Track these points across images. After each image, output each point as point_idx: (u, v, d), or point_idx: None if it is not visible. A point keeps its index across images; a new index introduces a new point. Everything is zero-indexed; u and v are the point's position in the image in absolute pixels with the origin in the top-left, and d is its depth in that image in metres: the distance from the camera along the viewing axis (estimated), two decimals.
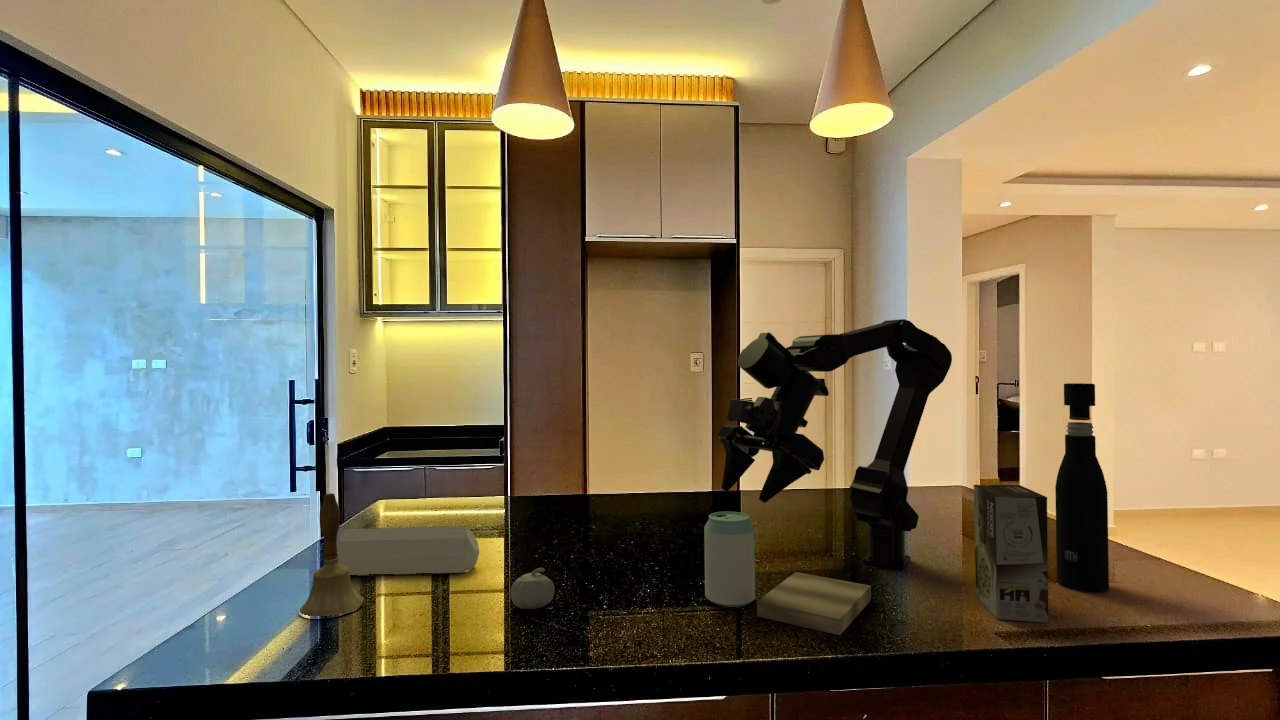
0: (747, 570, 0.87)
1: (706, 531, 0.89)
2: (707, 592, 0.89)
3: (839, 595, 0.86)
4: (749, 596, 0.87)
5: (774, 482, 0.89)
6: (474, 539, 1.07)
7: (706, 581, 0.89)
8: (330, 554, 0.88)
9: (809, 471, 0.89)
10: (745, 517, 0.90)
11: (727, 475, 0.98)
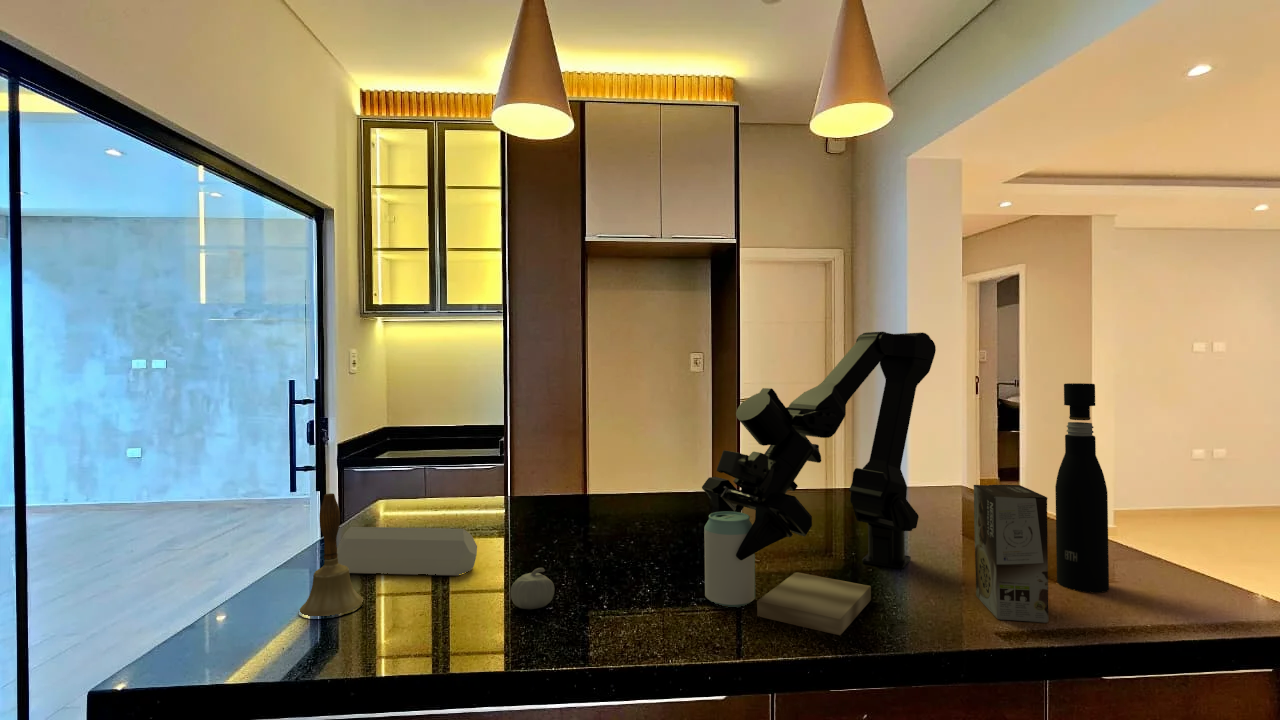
0: (747, 570, 0.87)
1: (706, 531, 0.89)
2: (707, 592, 0.89)
3: (839, 595, 0.86)
4: (749, 596, 0.87)
5: (753, 540, 0.86)
6: (472, 542, 1.05)
7: (706, 581, 0.89)
8: (330, 554, 0.88)
9: (790, 534, 0.86)
10: (745, 517, 0.90)
11: None
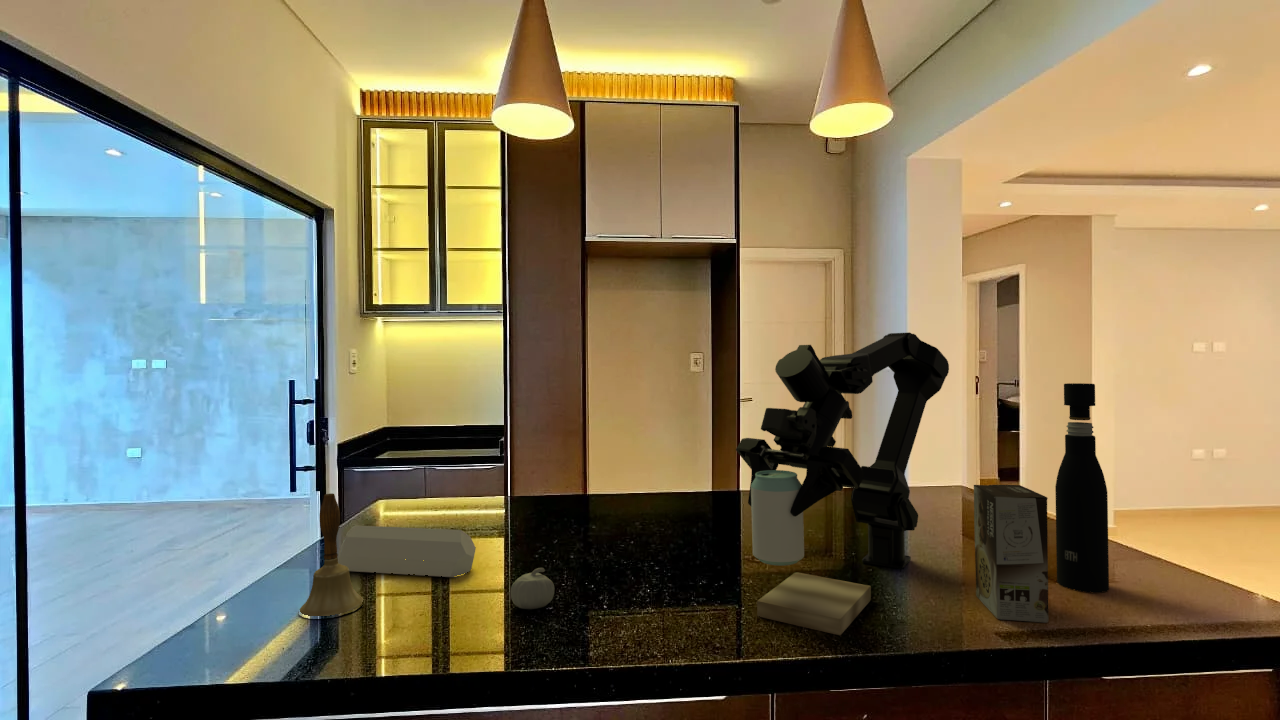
0: (799, 526, 0.86)
1: (756, 490, 0.87)
2: (758, 552, 0.87)
3: (839, 595, 0.86)
4: (801, 553, 0.87)
5: (807, 495, 0.85)
6: (470, 543, 1.04)
7: (756, 541, 0.87)
8: (330, 554, 0.88)
9: (841, 487, 0.86)
10: (791, 474, 0.89)
11: None
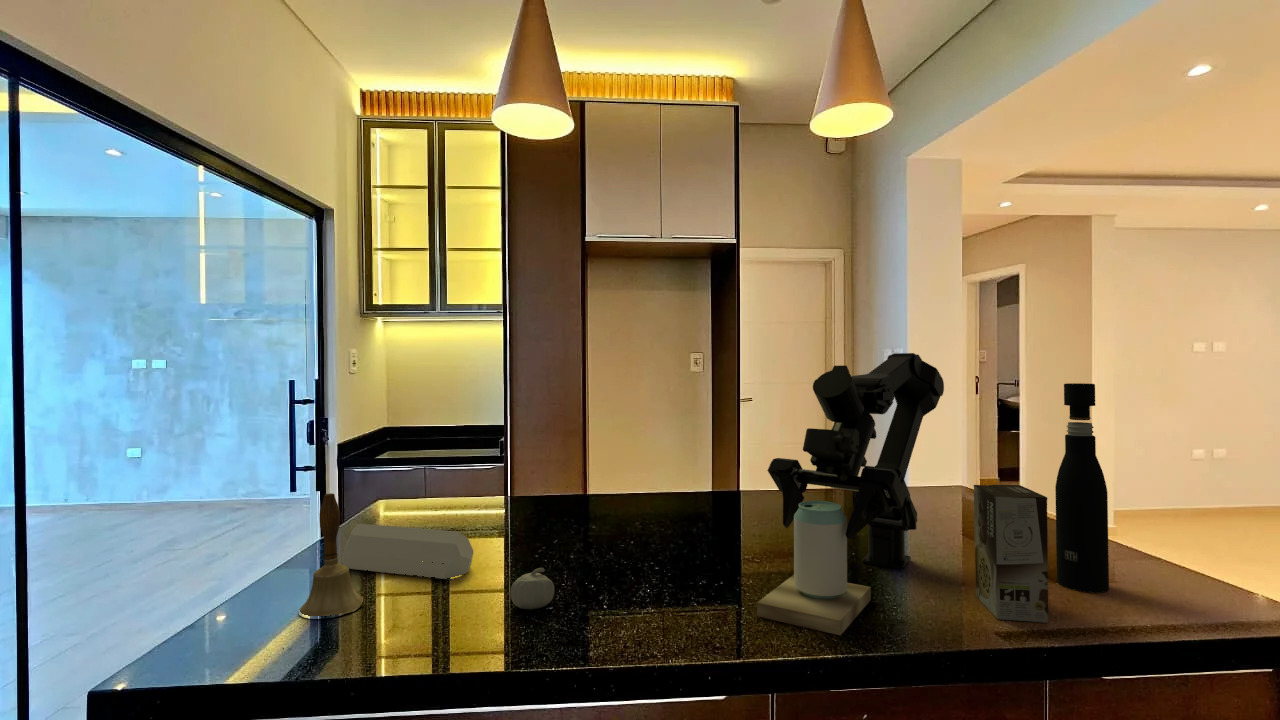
0: (845, 558, 0.86)
1: (803, 523, 0.86)
2: (804, 585, 0.86)
3: (839, 596, 0.86)
4: (846, 585, 0.86)
5: (861, 518, 0.85)
6: (467, 545, 1.03)
7: (802, 574, 0.86)
8: (330, 554, 0.88)
9: (891, 509, 0.87)
10: (833, 505, 0.89)
11: (788, 510, 0.91)
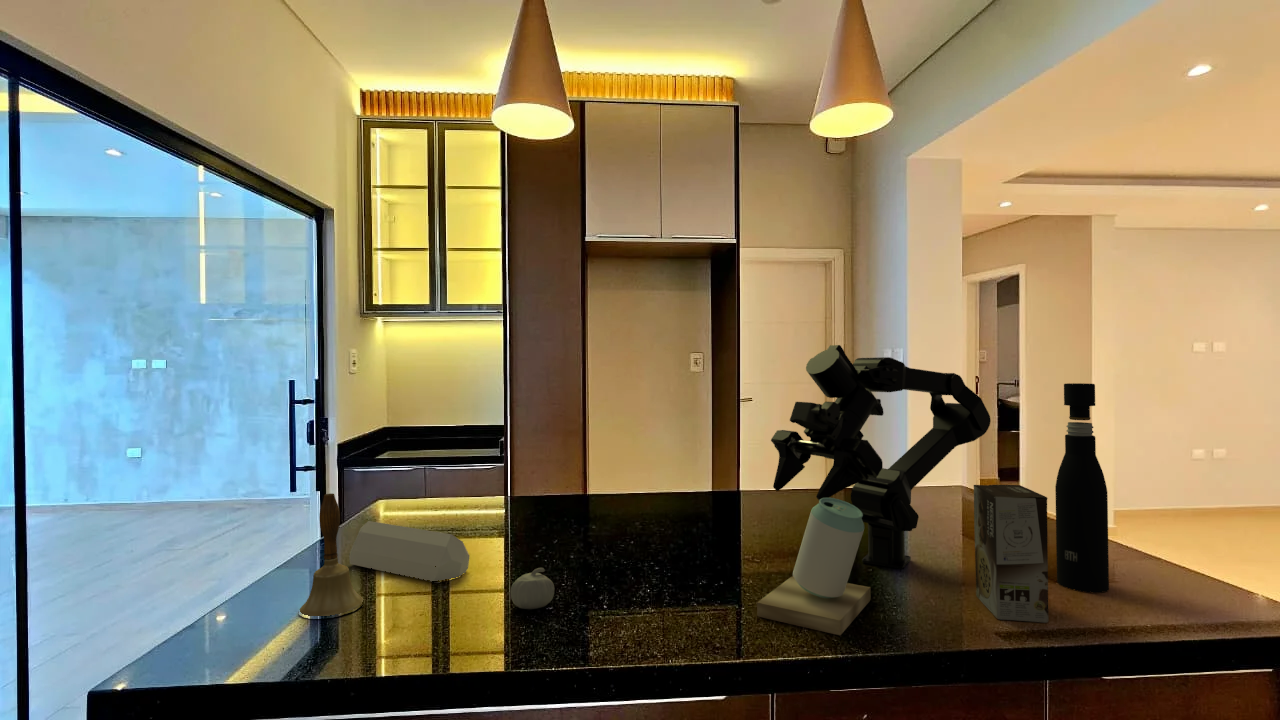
0: (852, 563, 0.84)
1: (822, 523, 0.83)
2: (805, 581, 0.84)
3: (839, 596, 0.86)
4: (845, 587, 0.86)
5: (833, 483, 0.93)
6: (461, 549, 1.01)
7: (806, 570, 0.84)
8: (330, 554, 0.88)
9: (867, 477, 0.93)
10: (852, 508, 0.86)
11: (779, 475, 1.01)
